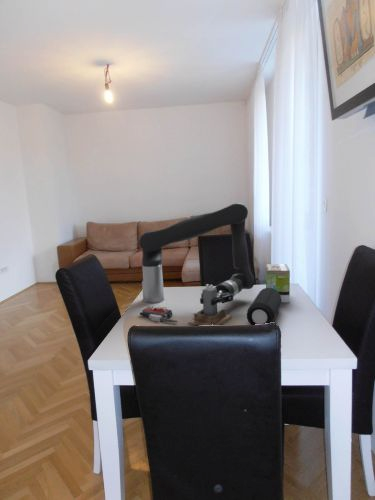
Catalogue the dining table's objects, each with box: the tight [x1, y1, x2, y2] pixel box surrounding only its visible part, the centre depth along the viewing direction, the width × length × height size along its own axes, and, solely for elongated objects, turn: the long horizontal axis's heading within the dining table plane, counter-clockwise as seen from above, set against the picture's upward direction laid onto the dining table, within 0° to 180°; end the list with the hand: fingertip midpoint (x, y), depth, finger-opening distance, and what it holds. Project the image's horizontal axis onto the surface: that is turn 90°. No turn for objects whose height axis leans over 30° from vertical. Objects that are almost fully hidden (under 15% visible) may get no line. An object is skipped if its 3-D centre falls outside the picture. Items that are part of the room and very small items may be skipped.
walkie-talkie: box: [139, 305, 178, 323], centre depth 145 cm, size 9×4×20 cm
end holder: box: [187, 308, 232, 326], centre depth 138 cm, size 12×13×4 cm
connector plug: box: [202, 283, 218, 316], centre depth 138 cm, size 4×4×13 cm
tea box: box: [265, 263, 291, 303], centre depth 163 cm, size 15×10×15 cm, turn 170°
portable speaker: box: [246, 287, 282, 326], centre depth 137 cm, size 26×10×10 cm, turn 158°
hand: (206, 302), depth 135 cm, fingers closed on connector plug, 4 cm apart
